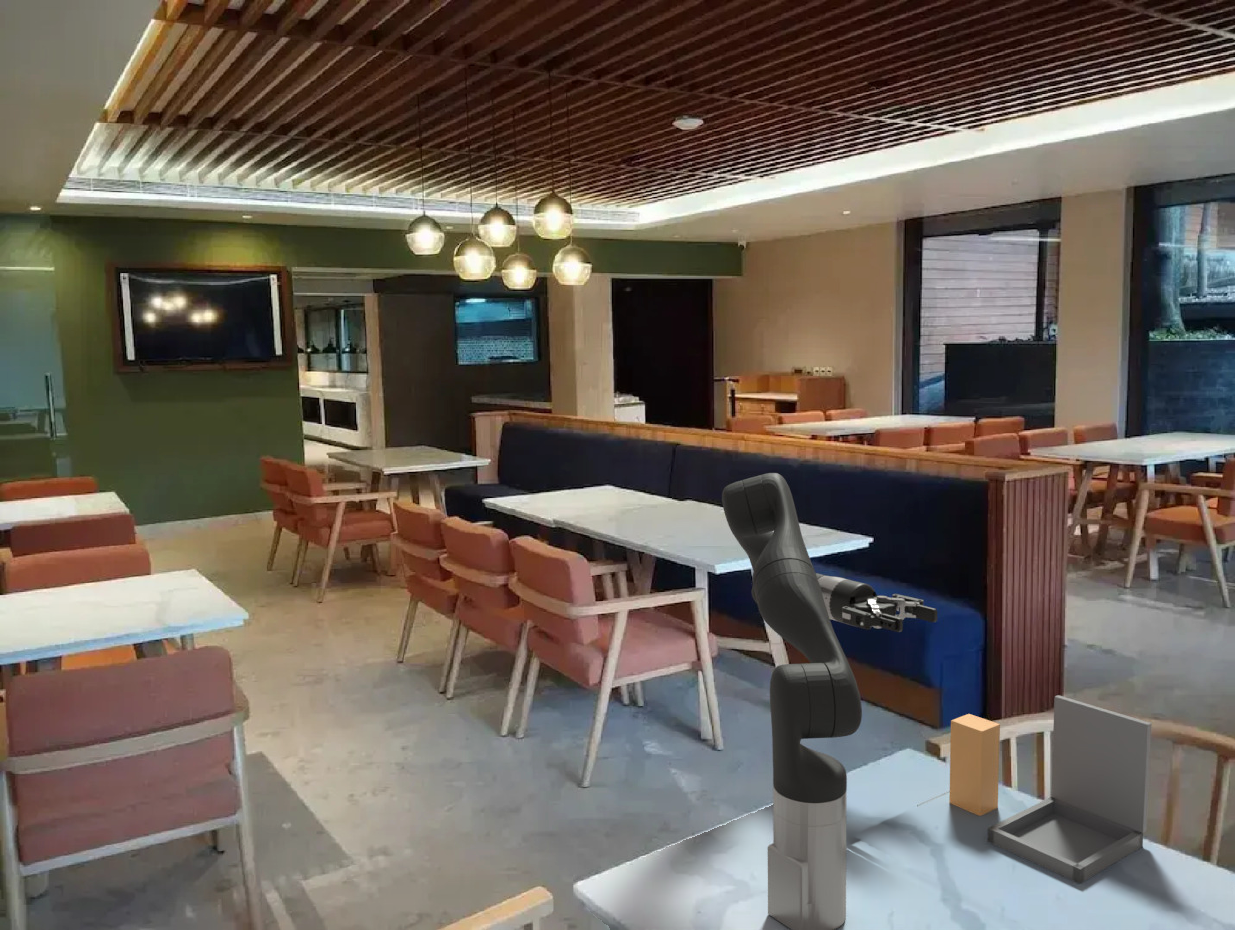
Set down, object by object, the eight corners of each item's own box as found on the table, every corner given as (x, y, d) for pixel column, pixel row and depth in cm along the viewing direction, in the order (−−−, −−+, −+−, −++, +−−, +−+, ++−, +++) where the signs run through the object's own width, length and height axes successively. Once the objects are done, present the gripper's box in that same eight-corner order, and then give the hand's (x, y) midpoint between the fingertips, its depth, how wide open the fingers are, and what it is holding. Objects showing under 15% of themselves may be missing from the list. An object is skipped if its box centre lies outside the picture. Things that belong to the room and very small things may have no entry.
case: (1079, 890, 132) (1084, 754, 129) (987, 847, 143) (990, 721, 141) (1145, 850, 141) (1151, 723, 139) (1054, 813, 153) (1058, 695, 150)
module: (979, 819, 151) (982, 731, 149) (949, 806, 155) (951, 720, 153) (997, 810, 153) (999, 724, 151) (967, 798, 158) (968, 713, 156)
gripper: (814, 586, 168) (889, 605, 155) (870, 573, 176) (947, 590, 163) (814, 628, 169) (889, 652, 156) (870, 614, 177) (946, 635, 164)
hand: (919, 620), depth 160 cm, fingers open, 8 cm apart
